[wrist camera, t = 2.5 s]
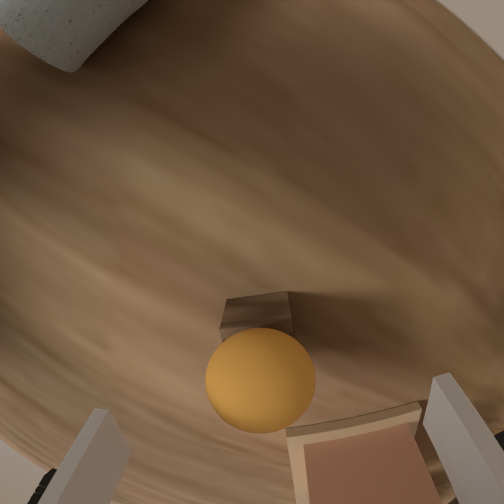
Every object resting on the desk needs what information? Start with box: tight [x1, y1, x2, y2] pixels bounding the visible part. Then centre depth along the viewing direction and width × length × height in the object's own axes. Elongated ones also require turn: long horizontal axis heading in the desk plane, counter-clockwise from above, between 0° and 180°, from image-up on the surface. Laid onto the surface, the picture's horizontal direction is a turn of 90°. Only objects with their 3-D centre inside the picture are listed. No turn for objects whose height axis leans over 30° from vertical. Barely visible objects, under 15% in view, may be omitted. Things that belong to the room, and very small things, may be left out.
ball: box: [205, 328, 316, 433], centre depth 14 cm, size 5×5×5 cm
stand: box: [220, 291, 294, 342], centre depth 18 cm, size 4×4×4 cm
